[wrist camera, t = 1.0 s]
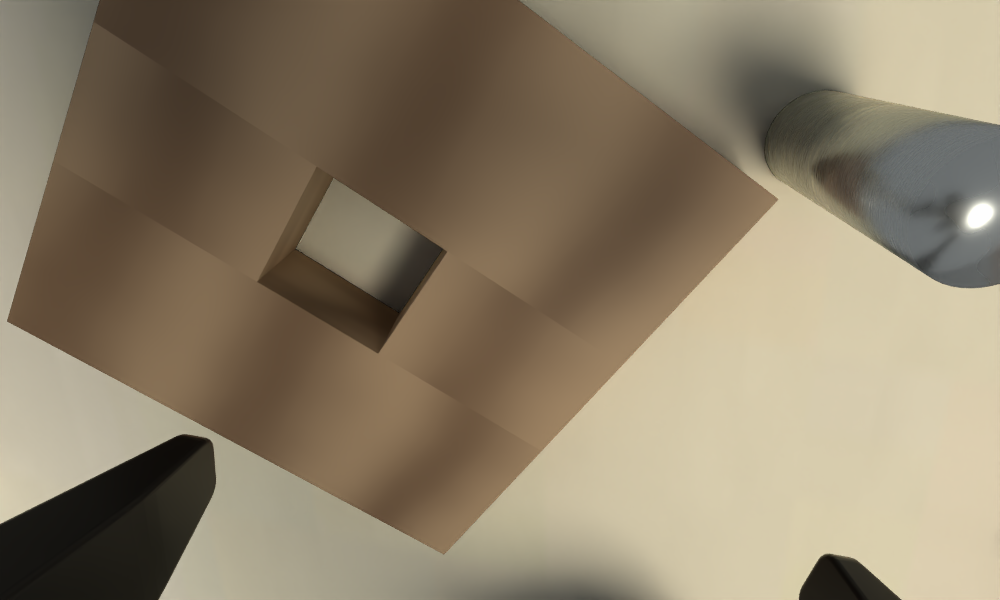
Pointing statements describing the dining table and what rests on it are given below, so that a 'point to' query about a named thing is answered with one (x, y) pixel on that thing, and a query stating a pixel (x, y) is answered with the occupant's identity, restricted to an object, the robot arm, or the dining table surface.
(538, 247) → the socket block
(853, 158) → the peg
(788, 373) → the dining table surface
